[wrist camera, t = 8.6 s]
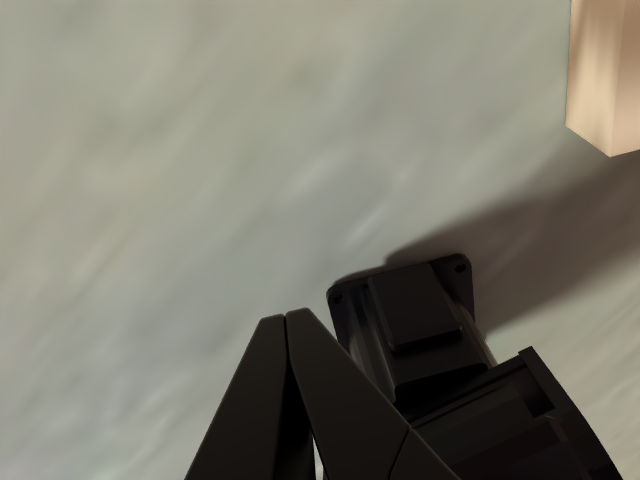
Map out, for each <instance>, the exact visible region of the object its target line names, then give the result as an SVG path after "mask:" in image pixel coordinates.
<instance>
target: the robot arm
mask: <svg viewBox="0 0 640 480" xmlns="http://www.w3.org/2000/svg"><path fill="white" fill-rule="evenodd" d="M458 264H462V265H461V266H460V267H458V268H455V267H456V266H457V265H458ZM337 295H342V296H341V297H340V298H334V297H335V296H337ZM326 298H327V302H328V306H329V309H330V313H331V317H332V321H333V325H334V328H335V332H336V336H337V340H338V341H337V340H336V339H335V338H334V337H333V335H332V334H331V333H330V332H329V331H328V330H327V328H326V327H325V326H324V325H323V324H322V323H321V321H320V320H319V319H318V318H317V317H316V316H315V315H314V313H313V312H312V311H311V310H310V309H309V308H301V309H297V310H293V311H289V312H287V313H286V315H285V316H284V315H283V314H277V315H273V316H269V317H265V318H262V319H261V320H260V321H259V323H258V325H257V327H256V329H255V332H254V334H253V336H252V338H251V340H250V342H249V344H248V346H247V348H246V350H245V353H244V355H243V357H242V359H241V361H240V363H239V365H238V367H237V369H236V371H235V374H234V376H233V378H232V380H231V382H230V384H229V386H228V388H227V390H226V393H225V395H224V397H223V399H222V401H221V403H220V405H219V407H218V409H217V411H216V414H215V416H214V418H213V420H212V422H211V424H210V426H209V428H208V430H207V432H206V435H205V437H204V439H203V441H202V443H201V445H200V447H199V449H198V451H197V453H196V456H195V458H194V460H193V462H192V464H191V466H190V468H189V470H188V472H187V475H186V477H185V479H184V480H316V473H315V457H314V445H313V438H314V441H315V444H316V447H317V450H318V453H319V456H320V459H321V462H322V465H323V480H623V479H622V477H621V475H620V473H619V472H618V470H617V468H616V467H615V465H614V463H613V462H612V460H611V458H610V457H609V455H608V454H607V452H606V450H605V449H604V447H603V445H602V444H601V442H600V441H599V439H598V438H597V436H596V434H595V433H594V431H593V430H592V428H591V427H590V425H589V424H588V422H587V421H586V419H585V418H584V416H583V415H582V414H581V412H580V411H579V409H578V408H577V407H576V405H575V404H574V403H573V401H572V400H571V399H570V397H569V396H568V395H567V393H566V392H565V390H564V389H563V388H562V386H561V385H560V384H559V382H558V381H557V380H556V378H555V377H554V376H553V374H552V373H551V372H550V370H549V369H548V367H547V366H546V365H545V363H544V362H543V361H542V359H541V358H540V357H539V355H538V354H537V353H536V351H535V350H534V349H533V347H532V346H530V347H527V348H525V349H523V350H521V351H519V352H518V354H519V355H517V356H515V357H513V358H511V359H509V360H507V361H505V362H503V363H501V364H499V365H498V363H497V362H496V360H495V358H494V356H493V354H492V353H491V351H490V349H489V347H488V346H487V344H486V342H485V340H484V339H483V337H482V335H481V333H480V331H479V330H478V328H477V326H476V324H475V315H474V300H473V284H472V269H471V263H470V261H469V260H468V258H467V257H466V256H465V255H463V254H455V255H451V256H447V257H443V258H439V259H435V260H432V261H428V262H424V263H420V264H416V265H412V266H408V267H404V268H400V269H396V270H393V271H389V272H385V273H381V274H377V275H373V276H369V277H365V278H361V279H357V280H354V281H350V282H346V283H342V284H338V285H334V286H332V287H330V288H329V289H328V291H327V293H326ZM312 435H313V436H312Z"/></svg>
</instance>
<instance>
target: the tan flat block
mask: <svg viewBox="0 0 640 480" xmlns="http://www.w3.org/2000/svg"><path fill="white" fill-rule="evenodd" d="M566 126H567V127H568V128H570V129H571V130H572V131H574V132H575V133H577V134H578V135H579V136H581V137H582V138H584V139H585V140H586V141H588V142H589V143H591V144H592V145H593V146H595V147H596V148H598V149H599V150H600V151H602V152H603V153H604V154H606V155H607V156H609V157H612V156H616V155H620V154H624V153H628V152H631V151H635V150H639V149H640V0H572V4H571V25H570V45H569V66H568V86H567V107H566Z"/></svg>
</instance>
